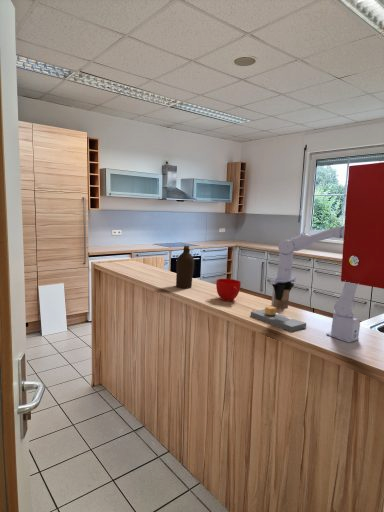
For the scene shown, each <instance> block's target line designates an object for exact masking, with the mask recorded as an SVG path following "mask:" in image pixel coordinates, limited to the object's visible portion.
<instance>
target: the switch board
mask: <svg viewBox="0 0 384 512" xmlns="http://www.w3.org/2000/svg"><path fill="white" fill-rule="evenodd" d="M250 317H251V318H254V319H257V320H260V321H263V322H265V323H268V324H271V325H272V326H276V327H278V328H281V329H284V330H286V331H288V332H294V331H299V330H302V329H306V328H307V322H303V321H302V320H298V319H295V318H293V317H289V316H286V315H284V314H280V313H278V312H276V314H274V315H268V314H265V308H264V309H257V310H254V311H250Z"/></svg>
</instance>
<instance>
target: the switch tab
mask: <svg viewBox="0 0 384 512" xmlns="http://www.w3.org/2000/svg"><path fill="white" fill-rule="evenodd" d="M264 309H265V314H268V315H274V314H276V313H277V309H278V308H277V307H273V306H272V305H269V306H265V307H264Z"/></svg>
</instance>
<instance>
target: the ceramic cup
mask: <svg viewBox="0 0 384 512" xmlns="http://www.w3.org/2000/svg"><path fill="white" fill-rule="evenodd" d="M215 282H216V283H215V284H216V293H217V295H218V296H219V298H220V300H222V301H225V302H231V301H234V300H235V298H237V297H238V295H239V294H240V290H241V284H242V282H241V281H240V280H237V279H232V278H218V279H216V281H215Z"/></svg>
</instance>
